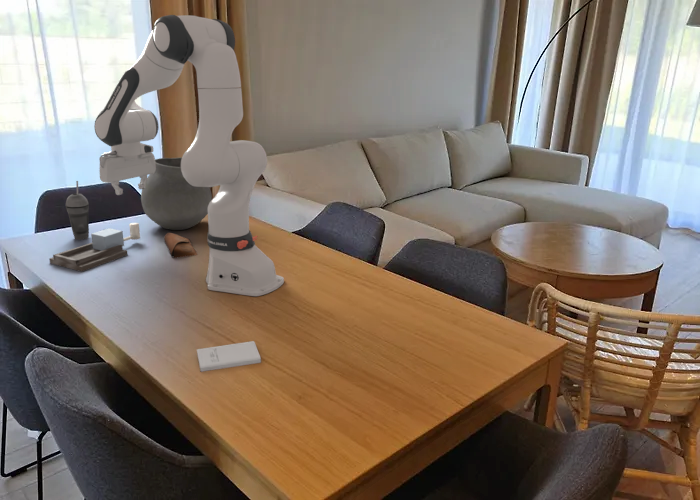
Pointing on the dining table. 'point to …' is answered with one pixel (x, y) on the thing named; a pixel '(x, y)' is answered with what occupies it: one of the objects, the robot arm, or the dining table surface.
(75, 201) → the beverage cup
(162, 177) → the ceramic pot
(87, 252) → the tray
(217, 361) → the external hard drive
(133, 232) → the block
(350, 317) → the dining table surface
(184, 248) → the sunglasses case
